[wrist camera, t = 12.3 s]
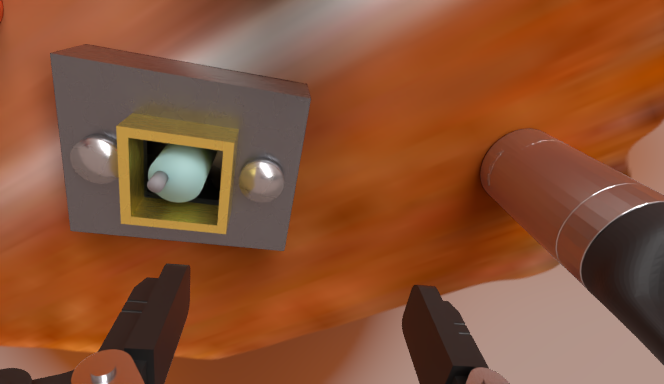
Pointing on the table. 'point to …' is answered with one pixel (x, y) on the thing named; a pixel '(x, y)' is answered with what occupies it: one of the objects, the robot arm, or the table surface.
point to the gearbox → (182, 129)
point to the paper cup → (1, 10)
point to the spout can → (180, 172)
